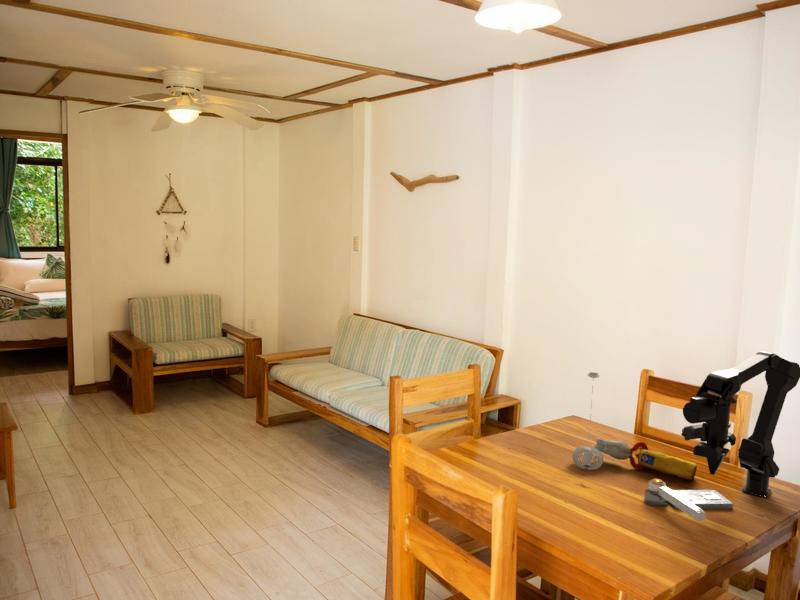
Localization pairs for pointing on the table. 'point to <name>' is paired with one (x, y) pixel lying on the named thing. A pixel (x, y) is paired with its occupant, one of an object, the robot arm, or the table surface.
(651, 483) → the swing arm
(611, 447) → the toy
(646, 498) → the pivot base
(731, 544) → the table surface
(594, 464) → the pendant light
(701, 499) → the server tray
